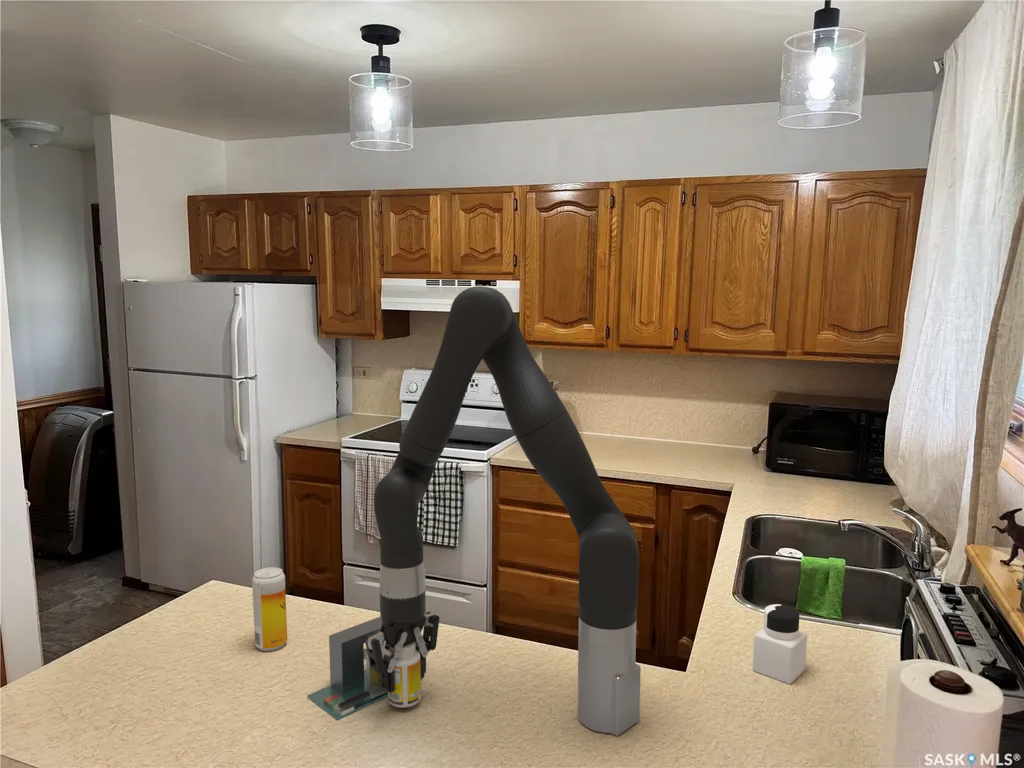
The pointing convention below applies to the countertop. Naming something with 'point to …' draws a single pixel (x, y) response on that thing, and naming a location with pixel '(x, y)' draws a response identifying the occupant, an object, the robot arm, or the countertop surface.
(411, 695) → the supplement bottle
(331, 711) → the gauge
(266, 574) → the beer can
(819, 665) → the countertop surface
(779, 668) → the medicine bottle
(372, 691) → the grey plate with rod
